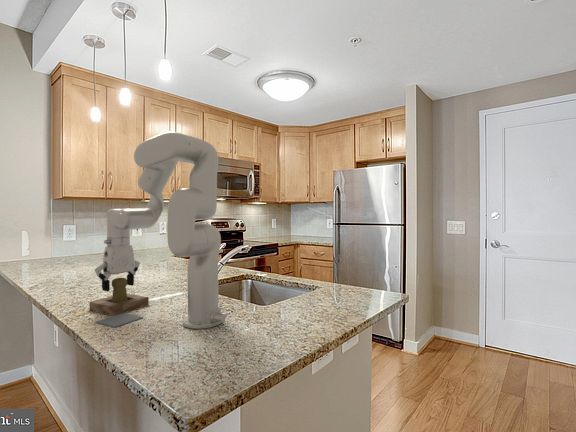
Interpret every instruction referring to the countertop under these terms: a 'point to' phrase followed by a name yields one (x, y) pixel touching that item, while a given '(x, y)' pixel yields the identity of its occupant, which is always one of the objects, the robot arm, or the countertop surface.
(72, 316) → the countertop surface
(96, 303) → the socket block
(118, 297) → the cork
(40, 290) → the countertop surface
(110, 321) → the rubber mat
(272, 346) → the countertop surface
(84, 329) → the countertop surface
